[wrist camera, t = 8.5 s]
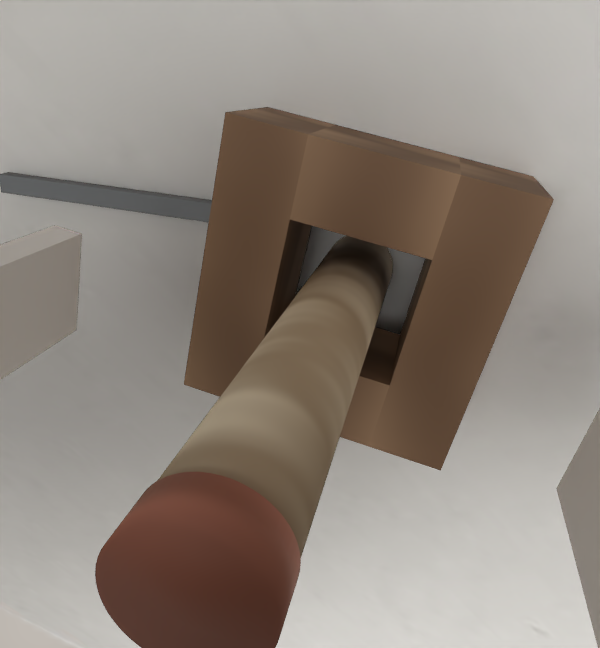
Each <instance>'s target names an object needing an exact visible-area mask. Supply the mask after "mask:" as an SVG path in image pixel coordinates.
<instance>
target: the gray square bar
mask: <svg viewBox="0 0 600 648" xmlns="http://www.w3.org/2000/svg"><path fill="white" fill-rule="evenodd" d="M0 186H1V192H3V193H10V194H17V195H24V196H31V197H38V198H45V199H51V200H58V201H65V202H72V203H79V204H86V205H93V206H100V207H107V208H113V209H120V210H127V211H134V212H141V213H148V214H155V215H162V216H169V217H175V218H182V219H189V220H196V221H203V222H209V217H210V210H211V204H212V200H205V199H198V198H191V197H183V196H176V195H169V194H162V193H154V192H147V191H140V190H132V189H125V188H118V187H111V186H103V185H96V184H89V183H82V182H74V181H67V180H60V179H52V178H45V177H38V176H31V175H23V174H16V173H9V172H7V173H2V174H0Z"/></svg>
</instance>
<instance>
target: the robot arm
mask: <svg viewBox="0 0 600 648" xmlns="http://www.w3.org/2000/svg"><path fill="white" fill-rule="evenodd" d="M81 240H82V234H81V233H78V232H75V231H71V230H68V229H65V228H61V227H58V226H55V225H54V226H51V227H49V228H46V229H43V230H40V231H37V232H35V233H32V234H29V235H26V236H23V237H20V238H18V239H15V240H12V241H9V242H6V243H4V244H1V245H0V380H1V379H2V378H4V377H6V376H7V375H9V374H10V373H12V372H13V371H15V370H16V369H18V368H19V367H21V366H22V365H24V364H25V363H27V362H28V361H30V360H32V359H33V358H35V357H36V356H38V355H39V354H41V353H42V352H44V351H45V350H47V349H48V348H50V347H51V346H53V345H54V344H56V343H57V342H59V341H61V340H62V339H64V338H65V337H67V336H68V335H70V334H71V333H73V332H74V331H76V330H77V314H78V295H79V277H80V258H81ZM557 492H558V496H559V500H560V503H561V507H562V511H563V515H564V519H565V523H566V526H567V530H568V534H569V538H570V542H571V546H572V549H573V553H574V557H575V561H576V565H577V569H578V572H579V576H580V580H581V584H582V588H583V592H584V595H585V599H586V603H587V607H588V611H589V615H590V618H591V622H592V626H593V630H594V634H595V638H596V641H597V645H598V648H600V409H599V411H598V413H597V415H596V416H595V418H594V420H593V422H592V424H591V426H590V428H589V429H588V431H587V433H586V435H585V437H584V439H583V440H582V442H581V444H580V446H579V448H578V450H577V452H576V453H575V455H574V457H573V459H572V461H571V463H570V464H569V466H568V468H567V470H566V472H565V474H564V476H563V477H562V479H561V481H560V483H559V485H558V487H557Z"/></svg>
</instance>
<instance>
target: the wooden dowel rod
mask: <svg viewBox="0 0 600 648" xmlns="http://www.w3.org/2000/svg"><path fill="white" fill-rule="evenodd" d="M392 271H393V262H392V257H391V254H390V252H389V250H388V249H387V247H385V246H381V245H378V244H374V243H371V242H367V241H364V240H360V239H357V238H353V237H350V236H345V237H343V238H342V239H340V240H339V241H337V242H336V243H335V244H334V246H333V247H332V248H331V250H330V251H329V252H328V254H327V255H326V256H325V258H324V259H323V260H322V262H321V263H320V264H319V266H318V267H317V268H316V270H315V271H314V272H313V274H312V275H311V276H310V278H309V279H308V280H307V282H306V283H305V284H304V286H303V287H302V288H301V290H300V291H299V292H298V294H297V295H296V296H295V298H294V299H293V300H292V302H291V303H290V304H289V306H288V307H287V308H286V310H285V311H284V312H283V314H282V315H281V316H280V318H279V319H278V320H277V322H276V323H275V324H274V326H273V327H272V328H271V330H270V331H269V332H268V334H267V335H266V336H265V338H264V339H263V340H262V342H261V343H260V344H259V346H258V347H257V348H256V350H255V351H254V352H253V354H252V355H251V356H250V358H249V359H248V360H247V362H246V363H245V364H244V366H243V367H242V368H241V370H240V371H239V372H238V374H237V375H236V376H235V378H234V379H233V381H232V382H231V383H230V385H229V386H228V387H227V389H226V390H225V391H224V393H223V394H222V395H221V397H220V398H219V399H218V401H217V402H216V403H215V405H214V406H213V407H212V409H211V410H210V411H209V413H208V414H207V415H206V417H205V418H204V419H203V421H202V422H201V423H200V425H199V426H198V427H197V429H196V430H195V431H194V433H193V434H192V435H191V437H190V438H189V439H188V441H187V442H186V443H185V445H184V446H183V447H182V449H181V450H180V451H179V453H178V454H177V455H176V457H175V458H174V459H173V461H172V462H171V463H170V465H169V466H168V467H167V469H166V470H165V471H164V473H163V474H162V475H161V477H160V478H159V479H158V481H157V482H155V483H154V484H152V485H151V486H150V487H149V488H148V489H147V490H146V491H145V492H144V493H143V495H142V496H141V497H140V499H139V500H138V501H137V503H136V504H135V505H134V506H133V508H132V509H131V510H130V512H129V513H128V514H127V516H126V517H125V518H124V520H123V521H122V522H121V524H120V525H119V526H118V528H117V529H116V530H115V531H114V533H113V534H112V535H111V537H110V538H109V539H108V541H107V542H106V543H105V545H104V546H103V548H102V549H101V551H100V553H99V556H98V558H97V563H96V571H95V576H96V584H97V588H98V592H99V595H100V598H101V600H102V602H103V604H104V606H105V608H106V610H107V612H108V613H109V615H110V616H111V618H112V619H113V620H114V622H115V623H116V624H117V625H118V627H119V628H120V629H121V630H122V631H123V632H124V633H125V634H126V635H127V636H128V637H129V638H130V639H131V640H133V641H134V642H135V643H136V644H137V645H139V646H140V647H141V648H275V647H276V645H277V643H278V640H279V637H280V634H281V631H282V627H283V624H284V621H285V618H286V615H287V611H288V608H289V605H290V602H291V599H292V596H293V592H294V589H295V586H296V583H297V580H298V576H299V572H300V564H301V560H300V558H301V555H302V552H303V549H304V546H305V543H306V540H307V537H308V534H309V530H310V527H311V524H312V521H313V518H314V515H315V512H316V509H317V506H318V503H319V499H320V496H321V493H322V490H323V487H324V484H325V481H326V478H327V475H328V471H329V468H330V465H331V462H332V459H333V456H334V453H335V450H336V447H337V444H338V440H339V437H340V434H341V431H342V428H343V425H344V422H345V419H346V416H347V412H348V409H349V406H350V403H351V400H352V397H353V394H354V391H355V388H356V385H357V381H358V378H359V375H360V372H361V369H362V366H363V363H364V360H365V357H366V353H367V350H368V347H369V344H370V341H371V338H372V335H373V332H374V329H375V325H376V322H377V319H378V316H379V313H380V310H381V307H382V304H383V301H384V298H385V294H386V291H387V288H388V285H389V282H390V279H391V276H392Z"/></svg>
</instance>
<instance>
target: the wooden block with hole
mask: <svg viewBox="0 0 600 648" xmlns="http://www.w3.org/2000/svg"><path fill="white" fill-rule="evenodd" d="M553 200H554V199H553V198H552V197H551V196H550V195H549V194H548V192H547V191H546V190H545V189H544V188H543V187H542V186H541V185H540V183H539V182H538V181H537V180H536V179H535V178H534V177H533V176H529V175H525V174H521V173H517V172H514V171H510V170H506V169H502V168H498V167H495V166H491V165H487V164H483V163H479V162H475V161H472V160H468V159H464V158H460V157H456V156H452V155H449V154H445V153H441V152H437V151H433V150H430V149H426V148H422V147H418V146H414V145H410V144H407V143H403V142H399V141H395V140H391V139H387V138H384V137H380V136H376V135H372V134H368V133H364V132H361V131H357V130H353V129H349V128H345V127H342V126H338V125H334V124H330V123H326V122H322V121H319V120H315V119H311V118H307V117H303V116H299V115H296V114H292V113H288V112H284V111H280V110H277V109H273V108H269V107H265V108H257V109H249V110H241V111H232V112H226V113H225V119H224V126H223V132H222V139H221V145H220V152H219V158H218V165H217V171H216V178H215V184H214V191H213V197H212V204H211V210H210V217H209V224H208V230H207V237H206V243H205V250H204V256H203V263H202V269H201V276H200V282H199V289H198V295H197V302H196V308H195V315H194V321H193V328H192V334H191V341H190V347H189V354H188V360H187V367H186V373H185V380H184V385H187V386H190V387H193V388H196V389H199V390H202V391H205V392H208V393H211V394H214V395H217V396H220V397H221V395H222V394H223V393H224V391H225V390H226V389H227V387H228V386H229V385H230V383H231V382H232V381H233V379H234V378H235V376H236V375H237V374H238V372H239V371H240V370H241V368H242V367H243V366H244V364H245V363H246V362H247V360H248V359H249V358H250V356H251V355H252V354H253V352H254V351H255V350H256V348H257V347H258V346H259V344H260V343H261V342H262V340H263V339H264V338H265V336H266V335H267V334H268V332H269V331H270V330H271V328H272V327H273V326H274V324H275V323H276V322H277V320H278V319H279V318H280V316H281V315H282V314H283V312H284V311H285V310H286V308H287V307H288V306H289V304H290V303H291V302H292V300H293V299H294V298H295V294H296V290H297V286H298V281H299V277H300V273H301V269H302V264H303V260H304V256H305V252H306V247H307V243H308V239H309V235H310V230H311V226H315V227H318V228H322V229H325V230H329V231H332V232H336V233H339V234H343V235H346V236H350V237H353V238H357V239H360V240H364V241H367V242H371V243H374V244H378V245H381V246H385V247H388V248H391V249H395V250H398V251H402V252H405V253H409V254H412V255H416V256H419V257H423V258H425V261H424V264H423V267H422V270H421V273H420V276H419V279H418V282H417V285H416V288H415V291H414V294H413V297H412V300H411V303H410V306H409V309H408V312H407V315H406V318H405V321H404V324H403V327H402V330H401V333H400V335H399V334H396V333H393V332H389V331H386V330H383V329H380V328H376V327H375V329H374V332H373V335H372V338H371V341H370V344H369V347H368V350H367V353H366V357H365V360H364V363H363V366H362V369H361V372H360V375H359V378H358V381H357V385H356V388H355V391H354V394H353V397H352V400H351V403H350V406H349V409H348V412H347V416H346V419H345V422H344V425H343V428H342V431H341V434H340V437H342V438H345V439H348V440H351V441H354V442H357V443H360V444H363V445H366V446H369V447H372V448H375V449H378V450H381V451H384V452H387V453H390V454H393V455H396V456H399V457H402V458H405V459H408V460H411V461H414V462H417V463H420V464H423V465H426V466H429V467H432V468H435V469H438V470H441V468H442V466H443V463H444V461H445V458H446V456H447V454H448V451H449V449H450V446H451V444H452V442H453V439H454V437H455V434H456V432H457V430H458V427H459V425H460V422H461V420H462V418H463V415H464V413H465V411H466V408H467V406H468V403H469V401H470V399H471V396H472V394H473V391H474V389H475V387H476V384H477V382H478V379H479V377H480V375H481V372H482V370H483V367H484V365H485V363H486V360H487V358H488V356H489V353H490V351H491V348H492V346H493V344H494V341H495V339H496V336H497V334H498V332H499V329H500V327H501V324H502V322H503V320H504V317H505V315H506V312H507V310H508V308H509V305H510V303H511V301H512V298H513V296H514V293H515V291H516V289H517V286H518V284H519V281H520V279H521V277H522V274H523V272H524V269H525V267H526V265H527V262H528V260H529V257H530V255H531V253H532V250H533V248H534V245H535V243H536V241H537V238H538V236H539V234H540V231H541V229H542V226H543V224H544V222H545V219H546V217H547V214H548V212H549V210H550V207H551V205H552V202H553Z"/></svg>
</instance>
